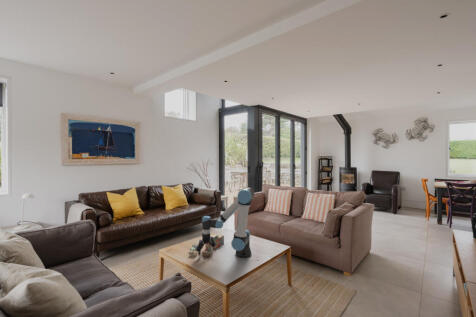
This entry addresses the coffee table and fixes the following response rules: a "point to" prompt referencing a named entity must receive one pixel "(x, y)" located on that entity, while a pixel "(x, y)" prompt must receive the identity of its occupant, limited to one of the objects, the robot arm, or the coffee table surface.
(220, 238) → the stack of blocks
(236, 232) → the robot arm
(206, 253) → the walnut brick
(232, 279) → the coffee table surface
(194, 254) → the maple brick
